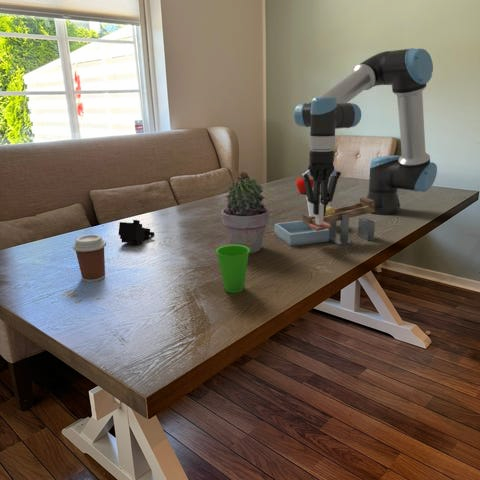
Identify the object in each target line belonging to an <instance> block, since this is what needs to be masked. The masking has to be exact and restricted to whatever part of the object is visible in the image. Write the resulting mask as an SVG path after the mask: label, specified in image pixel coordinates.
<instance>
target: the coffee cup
mask: <svg viewBox="0 0 480 480" xmlns="http://www.w3.org/2000/svg"><path fill="white" fill-rule="evenodd" d="M106 246H107V241H106V240H104V239H103V237H102V236H101V235H100V234H86V235H81V236H78V237H77V238H76V239H75V242H74V243H73V244H72V250H73V251H75V253H76V258H77V262H78V265H79V271H80V274H81V279H82V281H84V282H86V283H87V282H88V283H93V282H98V281H99V282H100V281H101V280H103V279H105V278H106V262H105V247H106Z"/></svg>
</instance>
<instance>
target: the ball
mask: <svg viewBox="0 0 480 480" xmlns="http://www.w3.org/2000/svg"><path fill="white" fill-rule="evenodd" d="M334 209H335V208H334V207H333V206H330V207H327V208H326V213H325V215H326V216H328V215H332V214H335V210H334Z"/></svg>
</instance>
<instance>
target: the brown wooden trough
mask: <svg viewBox="0 0 480 480" xmlns="http://www.w3.org/2000/svg"><path fill="white" fill-rule="evenodd" d="M334 210H335V214H332V215H328V216H326V215H325V214H324V216H323V225H318V224H316V223H315V216H309V214H306V213H302V214H301V215H302V221H303V223H304V224H305V225H307V226H309V227H310V228H313V229H314V230H316V231H320V230H324V229H328V230H329V228H331V225H330V224H329V223H332V222H336V221H337V222H339V221H340V222H341V215H346V214H348V215H349V219H351V218H355V217H358V216H362V215H363V216H364V215H367V214H373V213H372V212H375V210H374V200H371V199H369V198H367V196H363V197H360V198H359V202H358V203H353V204H349V205H345V206H341V207H336V208H334ZM337 222H336V223H337Z"/></svg>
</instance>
